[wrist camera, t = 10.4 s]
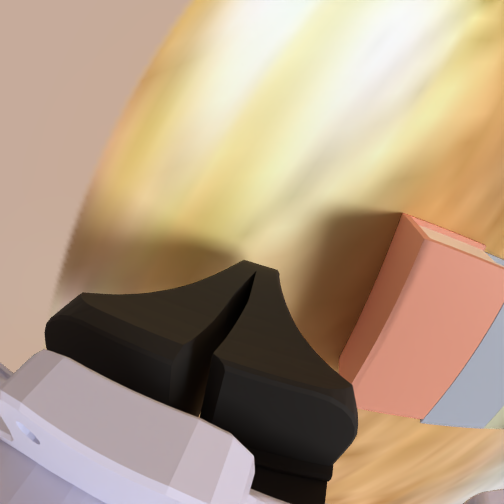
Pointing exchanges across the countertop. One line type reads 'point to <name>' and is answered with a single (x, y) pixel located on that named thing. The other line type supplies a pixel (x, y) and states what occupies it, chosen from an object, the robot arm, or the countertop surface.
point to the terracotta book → (421, 319)
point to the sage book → (497, 420)
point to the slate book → (476, 382)
